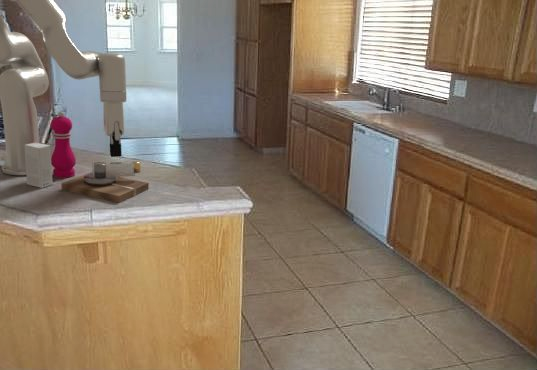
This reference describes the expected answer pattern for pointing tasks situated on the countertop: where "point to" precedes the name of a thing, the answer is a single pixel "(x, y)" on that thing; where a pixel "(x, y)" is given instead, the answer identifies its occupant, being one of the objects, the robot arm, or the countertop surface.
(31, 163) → the skincare box
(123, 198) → the walnut board
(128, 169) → the dial
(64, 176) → the pepper mill
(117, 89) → the robot arm
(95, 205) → the countertop surface
